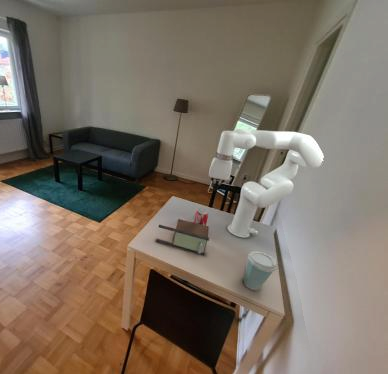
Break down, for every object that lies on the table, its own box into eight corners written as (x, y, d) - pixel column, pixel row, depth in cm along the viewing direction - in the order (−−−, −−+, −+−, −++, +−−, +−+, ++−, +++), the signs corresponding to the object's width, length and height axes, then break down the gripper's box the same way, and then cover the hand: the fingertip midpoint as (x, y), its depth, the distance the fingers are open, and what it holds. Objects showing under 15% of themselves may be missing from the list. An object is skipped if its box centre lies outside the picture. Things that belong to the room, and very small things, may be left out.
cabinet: (205, 241, 116) (209, 226, 111) (204, 255, 106) (209, 239, 101) (160, 229, 122) (163, 214, 118) (155, 241, 112) (158, 226, 108)
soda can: (205, 233, 123) (209, 215, 118) (192, 230, 124) (197, 213, 119) (204, 226, 129) (208, 209, 124) (192, 224, 130) (196, 207, 125)
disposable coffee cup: (233, 277, 94) (243, 251, 88) (250, 271, 99) (260, 246, 92) (253, 298, 86) (266, 270, 79) (271, 290, 90) (284, 263, 84)
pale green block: (203, 252, 106) (206, 239, 103) (202, 257, 103) (206, 243, 100) (173, 243, 110) (176, 230, 107) (172, 248, 107) (174, 235, 103)
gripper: (239, 157, 106) (229, 190, 114) (208, 152, 110) (200, 184, 118) (240, 161, 99) (230, 196, 107) (207, 156, 103) (199, 189, 111)
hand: (214, 190), depth 112 cm, fingers closed
